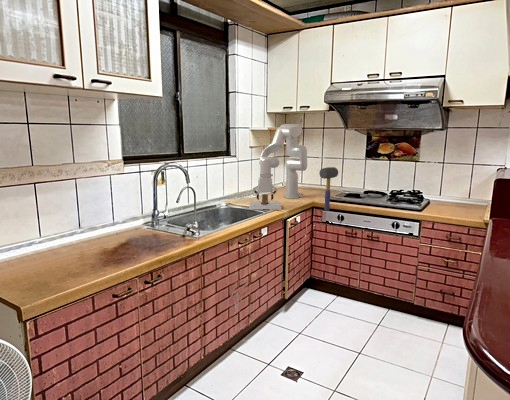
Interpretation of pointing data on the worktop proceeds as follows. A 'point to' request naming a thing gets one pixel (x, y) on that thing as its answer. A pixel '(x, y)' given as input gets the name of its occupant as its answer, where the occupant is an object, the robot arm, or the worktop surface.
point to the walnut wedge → (264, 198)
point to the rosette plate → (265, 205)
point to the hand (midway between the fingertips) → (264, 199)
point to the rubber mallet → (328, 183)
